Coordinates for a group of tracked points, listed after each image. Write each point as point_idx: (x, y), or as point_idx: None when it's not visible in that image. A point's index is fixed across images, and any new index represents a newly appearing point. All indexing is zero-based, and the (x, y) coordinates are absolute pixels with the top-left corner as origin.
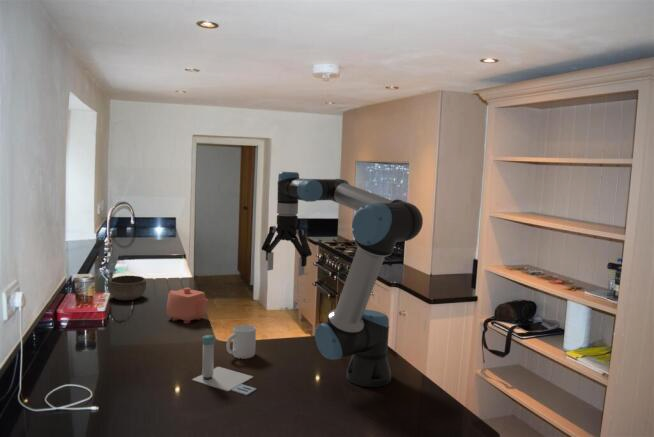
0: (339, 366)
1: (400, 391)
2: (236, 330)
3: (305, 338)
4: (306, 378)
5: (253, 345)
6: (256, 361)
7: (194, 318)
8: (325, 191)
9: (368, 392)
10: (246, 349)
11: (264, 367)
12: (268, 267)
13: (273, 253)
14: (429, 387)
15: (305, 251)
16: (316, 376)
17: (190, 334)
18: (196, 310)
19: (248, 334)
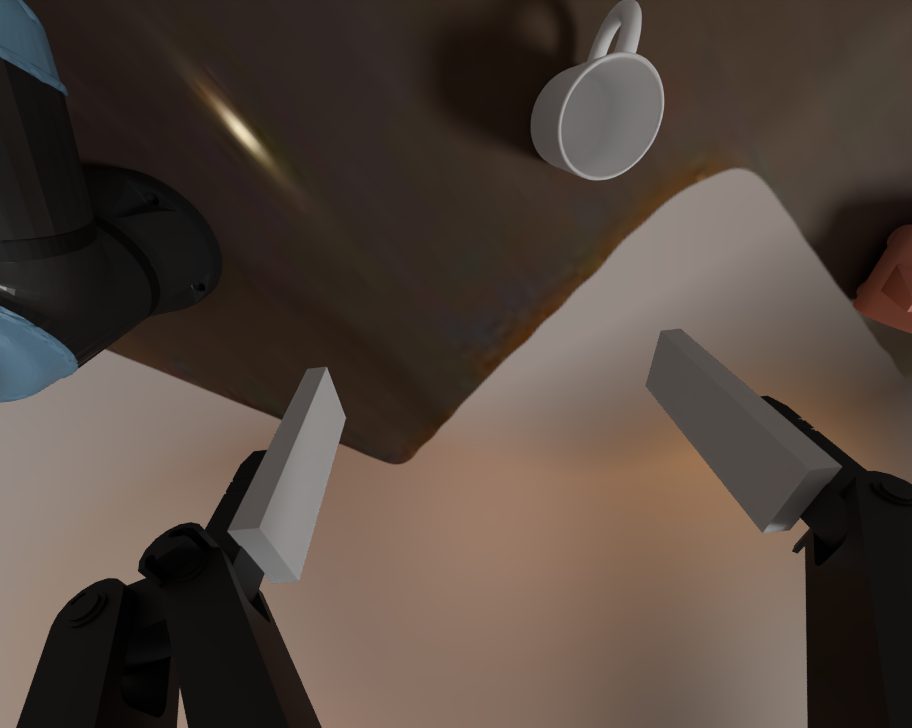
0: (274, 260)
1: None
2: (648, 118)
3: (489, 361)
4: (257, 94)
5: (539, 128)
6: (495, 100)
7: (885, 253)
8: None
9: None
10: (549, 88)
11: (435, 69)
12: (684, 346)
13: (750, 516)
14: None
15: (75, 678)
16: (251, 137)
17: (849, 149)
18: (909, 268)
19: (563, 92)
